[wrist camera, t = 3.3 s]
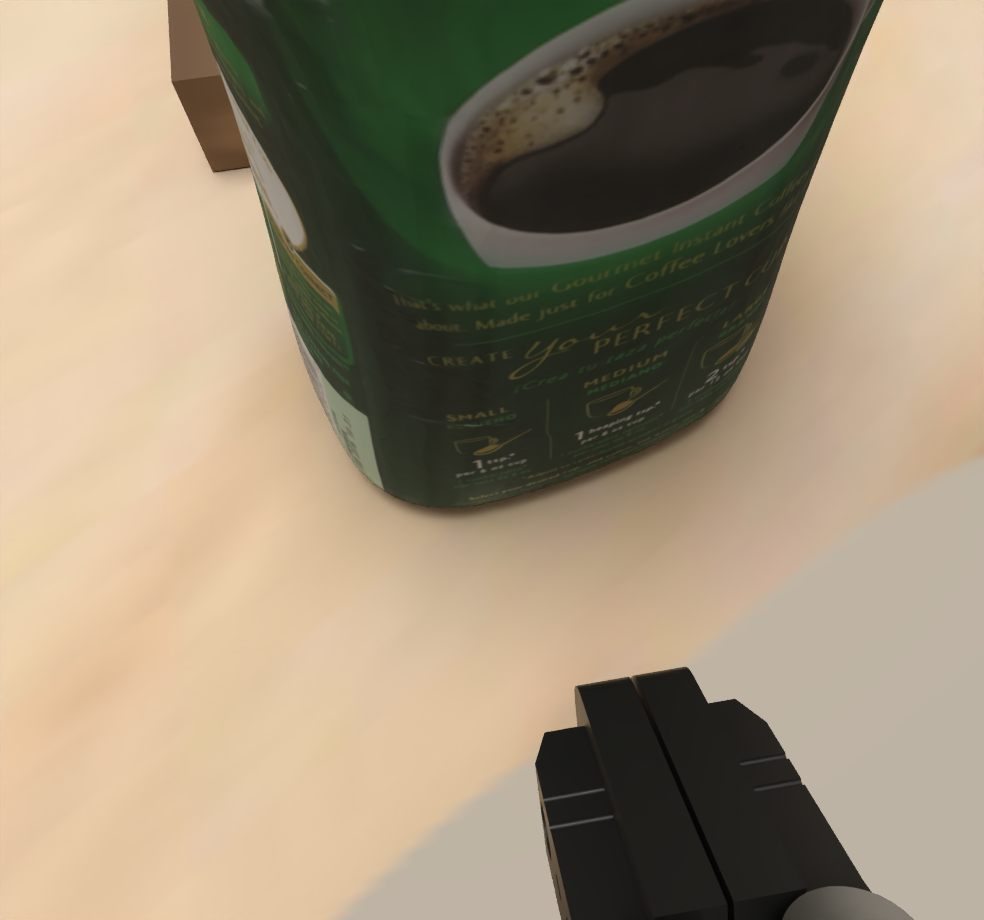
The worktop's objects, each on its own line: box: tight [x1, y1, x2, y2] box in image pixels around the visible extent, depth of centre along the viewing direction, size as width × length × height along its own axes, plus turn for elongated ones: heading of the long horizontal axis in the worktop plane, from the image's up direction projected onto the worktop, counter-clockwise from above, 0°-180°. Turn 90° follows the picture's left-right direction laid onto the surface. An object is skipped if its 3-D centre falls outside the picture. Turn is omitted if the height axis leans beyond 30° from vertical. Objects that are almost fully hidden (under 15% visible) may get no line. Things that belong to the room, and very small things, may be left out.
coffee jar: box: [193, 0, 883, 508], centre depth 12 cm, size 10×8×19 cm
